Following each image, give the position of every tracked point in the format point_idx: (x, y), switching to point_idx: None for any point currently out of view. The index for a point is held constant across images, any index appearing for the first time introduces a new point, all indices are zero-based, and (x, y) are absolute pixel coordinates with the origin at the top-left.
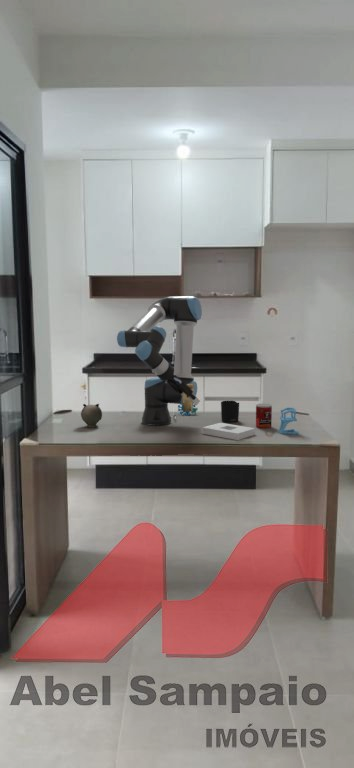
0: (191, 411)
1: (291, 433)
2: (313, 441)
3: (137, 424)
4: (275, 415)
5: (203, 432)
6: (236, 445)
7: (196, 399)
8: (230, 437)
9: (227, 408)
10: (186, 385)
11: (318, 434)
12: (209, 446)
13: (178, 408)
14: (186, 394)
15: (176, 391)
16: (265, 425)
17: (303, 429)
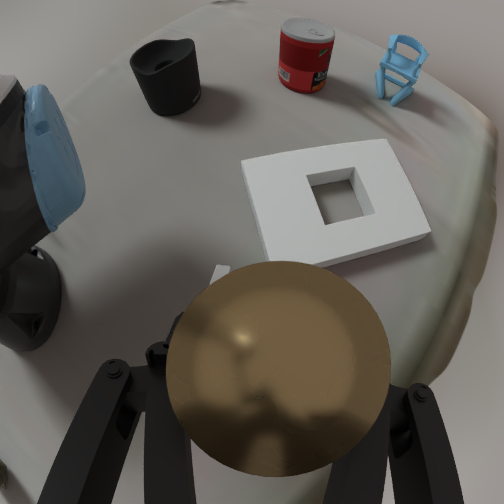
0: None
1: (406, 95)
2: (470, 122)
3: (14, 366)
4: (212, 21)
5: None
6: (465, 288)
7: None
8: (398, 245)
9: (177, 77)
10: (457, 493)
11: (420, 74)
12: (440, 373)
13: None
14: None
15: (131, 413)
16: (324, 82)
17: (370, 57)
